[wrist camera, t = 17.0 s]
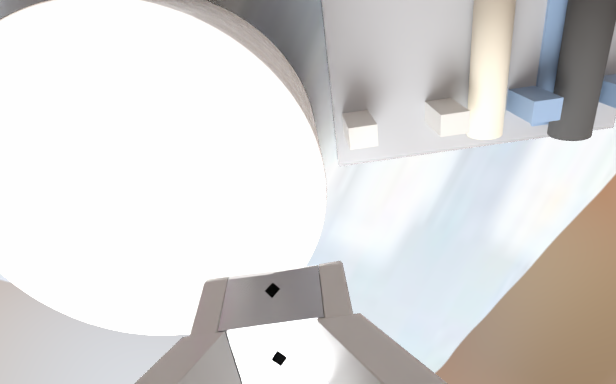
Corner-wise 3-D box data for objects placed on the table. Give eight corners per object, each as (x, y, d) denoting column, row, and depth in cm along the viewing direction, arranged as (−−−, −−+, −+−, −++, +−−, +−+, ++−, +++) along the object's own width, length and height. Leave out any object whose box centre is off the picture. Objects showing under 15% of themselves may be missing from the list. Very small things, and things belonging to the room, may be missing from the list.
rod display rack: (317, -34, 33) (323, -37, 28) (653, -85, 33) (718, -97, 28) (338, 162, 41) (345, 186, 37) (606, 124, 41) (649, 143, 36)
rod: (468, -29, 33) (486, -31, 30) (507, -35, 33) (528, -37, 30) (460, 130, 39) (474, 141, 37) (492, 126, 39) (509, 136, 37)
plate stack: (91, -87, 31) (-4, -122, 21) (371, 108, 39) (402, 151, 29) (-8, 184, 41) (-105, 250, 31) (232, 293, 49) (218, 374, 39)
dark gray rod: (567, -57, 32) (597, -62, 29) (611, -64, 32) (647, -69, 29) (539, 130, 40) (561, 143, 36) (575, 125, 40) (600, 137, 36)
